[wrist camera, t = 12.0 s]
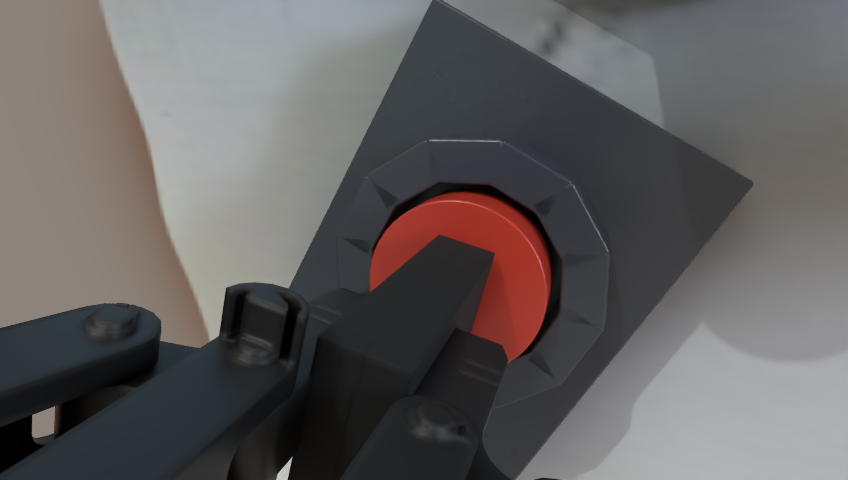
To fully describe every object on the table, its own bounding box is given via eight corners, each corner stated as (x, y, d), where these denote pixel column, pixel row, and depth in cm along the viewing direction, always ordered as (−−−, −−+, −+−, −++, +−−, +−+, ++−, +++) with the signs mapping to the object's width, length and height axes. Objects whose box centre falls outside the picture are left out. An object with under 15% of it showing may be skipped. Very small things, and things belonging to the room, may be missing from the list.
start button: (439, 157, 16) (420, 164, 14) (587, 250, 15) (586, 268, 13) (365, 289, 17) (340, 309, 16) (495, 378, 17) (484, 408, 15)
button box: (452, 7, 18) (414, -17, 14) (736, 173, 16) (776, 194, 13) (303, 298, 22) (242, 339, 18) (520, 448, 21) (502, 524, 17)
